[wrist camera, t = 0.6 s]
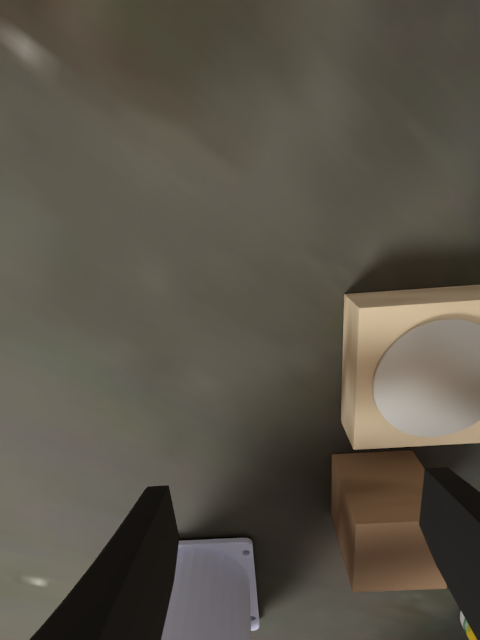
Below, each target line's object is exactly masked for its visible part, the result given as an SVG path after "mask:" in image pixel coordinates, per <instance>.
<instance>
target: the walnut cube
mask: <svg viewBox="0 0 480 640" xmlns="http://www.w3.org/2000/svg"><path fill="white" fill-rule="evenodd" d="M424 471H425V469H424V467H423V466H422V464H421V463H420V461H419V460H418V458H417V457H416V455H415V454H414V452H413V451H412V450H405V451H387V452H368V453H349V454H332V477H331V516H332V520H333V523H334V527H335V530H336V534H337V538H338V541H339V545H340V548H341V552H342V556H343V559H344V563H345V566H346V570H347V574H348V577H349V581H350V584H351V588H352V592H370V591H396V590H421V589H446V586H447V584H446V582H445V581H444V579H443V577H442V575H441V573H440V571H439V569H438V568H437V566H436V563H435V561H434V559H433V557H432V554H431V552H430V550H429V548H428V545H427V543H426V540H425V538H424V535H423V533H422V531H421V528H420V526H419V518H420V509H421V500H422V490H423V481H424Z"/></svg>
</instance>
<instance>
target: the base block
mask: <svg viewBox="0 0 480 640" xmlns="http://www.w3.org/2000/svg"><path fill="white" fill-rule="evenodd" d="M341 423H342V425H343V427H344V429H345V432H346V434H347V436H348V439H349V441H350V443H351V445H352V448H353V450H358V449H377V448H395V447H414V446H433V445H451V444H470V443H480V285H467V286H453V287H438V288H424V289H410V290H395V291H381V292H367V293H353V294H344V323H343V361H342V399H341Z"/></svg>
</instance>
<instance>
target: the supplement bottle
mask: <svg viewBox="0 0 480 640" xmlns="http://www.w3.org/2000/svg"><path fill="white" fill-rule="evenodd" d="M460 621H461V624H462V626H463V629H464V631H465V633H466V635H467V637H468V639H469V640H477V639H476V637H475V635H474V633H473V631H472V630H471V628H470V626H469V624H468V622H467V621H466V619H465V617H464V615H463V613H462V612H461V611H460Z"/></svg>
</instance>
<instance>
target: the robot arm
mask: <svg viewBox="0 0 480 640" xmlns="http://www.w3.org/2000/svg"><path fill="white" fill-rule="evenodd" d="M419 526H420V528H421V531H422V533H423V535H424V538H425V540H426V543H427V545H428V548H429V550H430V552H431V554H432V557H433V559H434V561H435V563H436V566H437V568H438V569H439V571H440V573H441V575H442V577H443V579H444V581H445V582H446V584H447V586H448V588H449V590H450V592H451V593H452V595H453V597H454V599H455V601H456V603H457V604H458V606H459V608H460V610H461V612H462V613H463V615H464V617H465V619H466V621H467V622H468V624H469V626H470V628H471V630H472V631H473V633H474V635H475V637H476V639H477V640H480V492H479V491H477V490H476V489H475V488H474V487H472V486H471V485H470V484H468V483H467V482H466V481H464V480H463V479H462V478H461V477H459V476H458V475H457V474H455V473H454V472H453V471H451V470H450V469H449V468H447V467H446V468H431V469H425V471H424V481H423V490H422V500H421V509H420V518H419ZM259 626H260V625H259V611H258V600H257V589H256V577H255V566H254V555H253V543H252V541H251V540H250V539H249V538H226V539H204V540H182V541H179V534H178V529H177V524H176V519H175V514H174V510H173V505H172V500H171V495H170V490H169V485H168V486H152V487H147V488H146V489H145V490H144V492H143V493H142V495H141V496H140V498H139V499H138V501H137V502H136V504H135V505H134V507H133V508H132V509H131V511H130V512H129V514H128V515H127V517H126V518H125V520H124V521H123V522H122V524H121V525H120V527H119V528H118V530H117V531H116V532H115V534H114V535H113V537H112V538H111V539H110V541H109V542H108V543H107V545H106V546H105V547H104V549H103V550H102V552H101V553H100V554H99V556H98V557H97V558H96V560H95V561H94V562H93V564H92V565H91V566H90V568H89V569H88V570H87V571H86V573H85V574H84V575H83V576H82V578H81V579H80V580H79V581H78V583H77V584H76V585H75V586H74V588H73V589H72V590H71V592H70V593H69V594H68V595H67V597H66V598H65V599H64V600H63V601H62V603H61V604H60V605H59V606H58V607H57V609H56V610H55V611H54V612H53V613H52V615H51V616H50V617H49V618H48V619H47V620H46V622H45V623H44V624H43V625H42V626H41V627H40V629H39V630H38V631H37V632H36V633H35V634H34V635H33V636H32V637H31V639H30V640H251V631H254V630H257V629H258V628H259Z"/></svg>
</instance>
